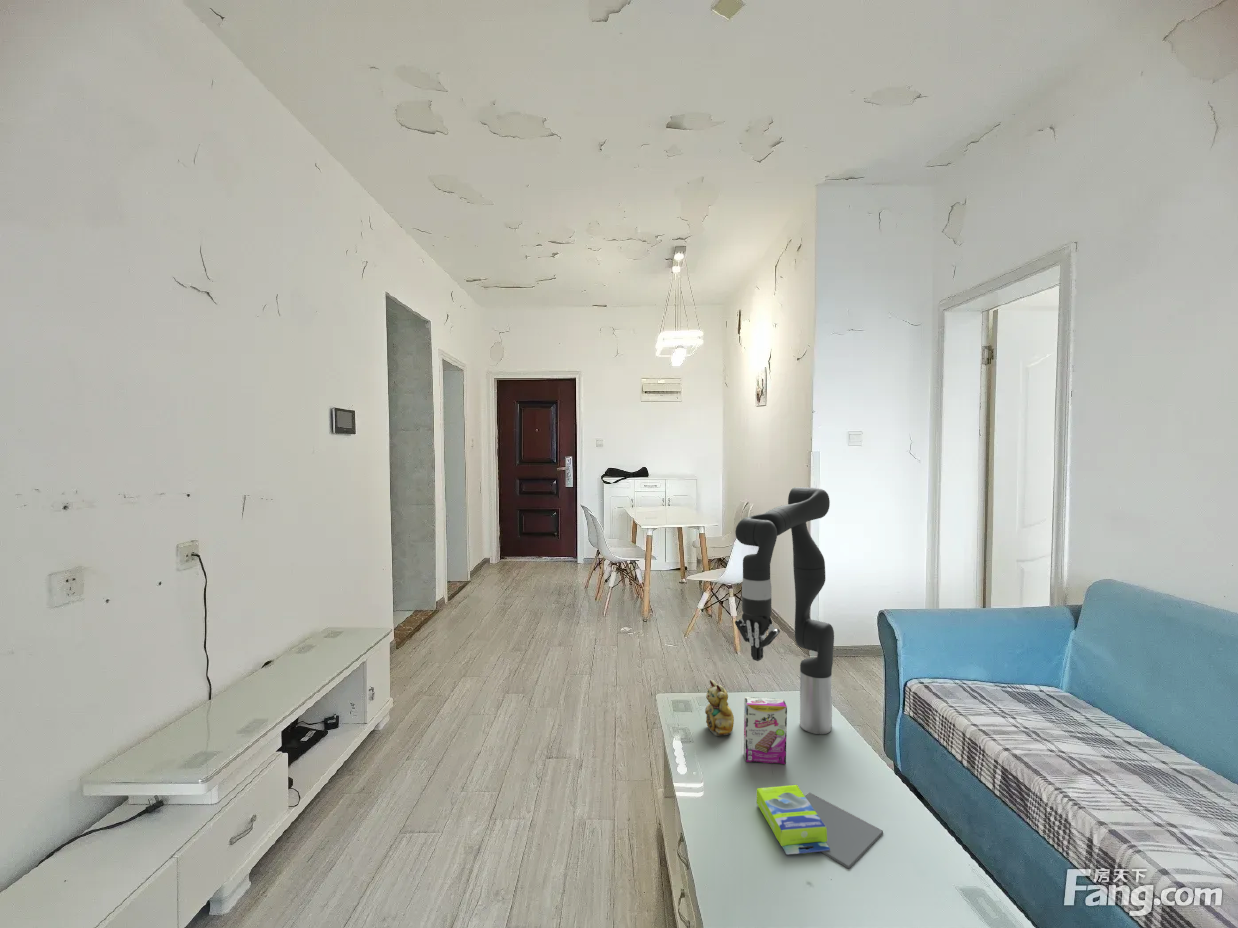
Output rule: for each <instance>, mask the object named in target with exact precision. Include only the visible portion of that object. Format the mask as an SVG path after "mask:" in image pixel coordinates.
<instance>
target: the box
mask: <svg viewBox="0 0 1238 928" xmlns="http://www.w3.org/2000/svg"><path fill="white" fill-rule="evenodd" d="M805 796H806V795H805V794H804V793H803V791H802V790H801V789H800V787H799V786H798V784H794V785H793V784H792V785H781V786H770V787H760V788H759V787H757V788H756V804H757V806H758V808H759V810H760V811H761V813H762V815H763V817H764V819H765V820H766V822H767V824H768V826H769V827H770V828H771V830H772V833H773V835H774V836H775V838H776V840H777V841H778V843H779V845H780V846H781V847H782V850H783V851H784V853H785V855H786V856H787V855H797V854H798V855H799V854H807V853H808V854H809V853H817V852H820V851H827V850H830V848H829V847H828V845H827V844H826V841H827V828H826V826H825V824H824V823H823V822H822V820H821V819H820V817H819V816H818V814H817V813H816V812H815V810H814V809H813V807H812V806H811V804H810V803H809V801H808V800H807V799H806V797H805ZM806 848H808V849H806Z"/></svg>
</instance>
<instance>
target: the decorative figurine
mask: <svg viewBox="0 0 1238 928" xmlns="http://www.w3.org/2000/svg"><path fill="white" fill-rule="evenodd" d="M709 684H710V687H709V688H708V689H707V692H706V695H705V698H706V700H707V703H708V704H707V705H706V707H705V710H704V713H705V715H706V718H705V719H706V721H705V723H706V725H707V728H708V730H709V731H710V732H711V733H712V734H713V735H714V736H715V737H718V736H724V737H725V736H729V735H731V733H732V732H733V730H734V724H735V723H734V722H735V721H734V720H735V718H734V713H733V711H732V709H731V708H730V706H729V702H728V700H729V699H728V698H729V693H728V691H727V690H726V688H724V686H722V685H721V684H717V682H716V681H714V680H713V679H709Z"/></svg>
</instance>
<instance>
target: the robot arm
mask: <svg viewBox="0 0 1238 928" xmlns="http://www.w3.org/2000/svg"><path fill="white" fill-rule="evenodd" d="M830 503H831V500H830V496H829V493H828V492H827V491H826V490H824V489H823V488H817V487H805V486H803V487H801V486H800V487H799V486H795V487H793V488H792V489H790V491H789V494H788V498H787V504H784V505H781V506H776V507H774V508H771V509H769V510H768V511H766V512H764V513H759V514H755V515H749V516H746V517H745V518H742V519H741V520H740V521H739V522H738V523H737V525H736V527H735V531H734V533H735V537H736V539H737V541H738V542H739V543H740V544H742V545H744V546H751V547H752V546H753V547H756V548H757V547H758V550H757V552H756V553H751V554H746V555H745V556H744V557H743V559H742V583H741V610H742V615H741V618H740V619H737V620H735V621H734V624H735V626H736V628H737V630H738V631H739V633H740V635H741V636H742V639H743V641H744V642H746V643H747V642H748V644H749V645H750V656H751V658H752V660H753V661H756V662H759V661H761V660H762V659H763V658H764V648H765V647H768V646H770V645H771V644H772V643H773V641H774V640H775V639H776V638H777V636H779V634H780V633H781V631H780V629H779V628H776V627H774V625H773V621H772V617H771V615H772V583H771V581H772V580H771V562H772V557H773V553H774V549H775V546H776V542H777V539H778V536H780V535H782V534H783V533H785V532H787V531H788V530H791V541H792V554H793V555H792V557H793V558H792V563H793V580H794V594H795V596H794V598H795V607H794V608H795V609H794V610H795V611H794V639H795V643H796V645H797V646H798V647H799V648H802V649H803V650H808V651H812V652H815V653H817V655H816V657H807V658H804V659H803V660H801V662H800V665H799V666H800V668H799V681H800V682H799V726H800V728H801V729H802V730H804V731H806V732H807V733H810V734H814V735H827V734H829V733H831V731H832V726H833V696H832V691H833V690H832V688H833V687H832V681H833V678H832V677H833V675H832V671H833V670H832V669H833V662H834V648H835V647H834V645H835V644H834V643H835V631H834V626H833V625H831V624H830V623H828V622H826V621H825V622H824V621H821V620H816V619H811V616H810V615H811V608H812V607H811V606H812V604H813V602H814V600H815V599H816V598H817V596H818V595H819V594H820V592H821V590H822V589H823V587H824V585H825V583H826V561H825V558H824V555H823V554H822V551H821V550H820V548H819V547H818V545H817V543H816V542H815V541H814V539H813V538H812V536H811V534H810V532H809V529H808V526H807V525H808V524H807V522H811V521H814V520H818V519H822V518H824V517H825V516H826V515H827V514H828V512H829V509H830V505H831V504H830Z"/></svg>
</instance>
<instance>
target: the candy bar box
mask: <svg viewBox="0 0 1238 928" xmlns="http://www.w3.org/2000/svg"><path fill="white" fill-rule="evenodd" d="M743 704H744V706H743V708H744V710H743V711H744V712H743V719H744V720H743V722H744V723H743V756H744V760H745V762H746V763H758V764H759V763H761V764H777V765H786V763H787V737H788V735H787V726H788V720H787V719H788V706H787V704H786V701H785V699H783V698H771V697H770V698H769V697H767V698H766V697H752V696H751V697H750V696H744V703H743Z"/></svg>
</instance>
